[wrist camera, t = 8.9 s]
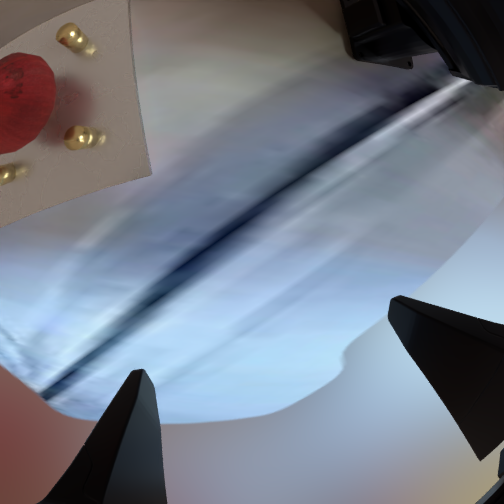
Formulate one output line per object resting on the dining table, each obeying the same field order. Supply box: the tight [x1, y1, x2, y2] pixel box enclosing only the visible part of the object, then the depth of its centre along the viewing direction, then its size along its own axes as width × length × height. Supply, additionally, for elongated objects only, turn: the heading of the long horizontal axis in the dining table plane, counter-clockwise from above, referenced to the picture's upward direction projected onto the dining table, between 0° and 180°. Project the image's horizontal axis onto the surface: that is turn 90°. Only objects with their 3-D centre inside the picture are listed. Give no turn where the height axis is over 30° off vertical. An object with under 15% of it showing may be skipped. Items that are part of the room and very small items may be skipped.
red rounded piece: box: [0, 52, 56, 154], centre depth 8 cm, size 6×6×8 cm
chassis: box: [0, 0, 152, 228], centre depth 11 cm, size 14×14×4 cm
